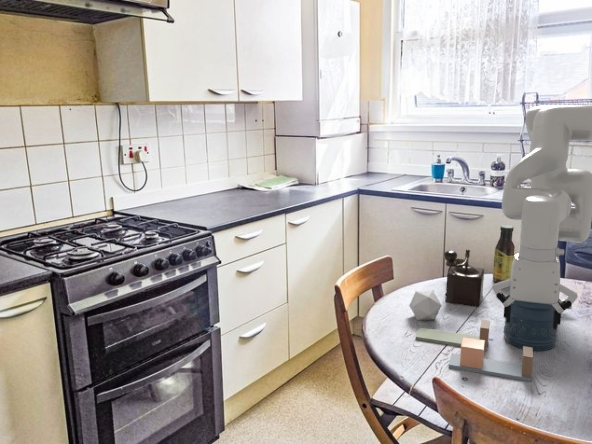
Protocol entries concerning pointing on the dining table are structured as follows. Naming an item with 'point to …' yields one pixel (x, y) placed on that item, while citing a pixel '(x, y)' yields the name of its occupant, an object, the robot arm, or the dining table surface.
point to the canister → (531, 325)
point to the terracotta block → (472, 353)
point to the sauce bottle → (503, 255)
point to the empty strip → (453, 335)
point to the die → (425, 305)
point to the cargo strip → (501, 366)
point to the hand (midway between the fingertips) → (530, 323)
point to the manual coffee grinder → (463, 281)
